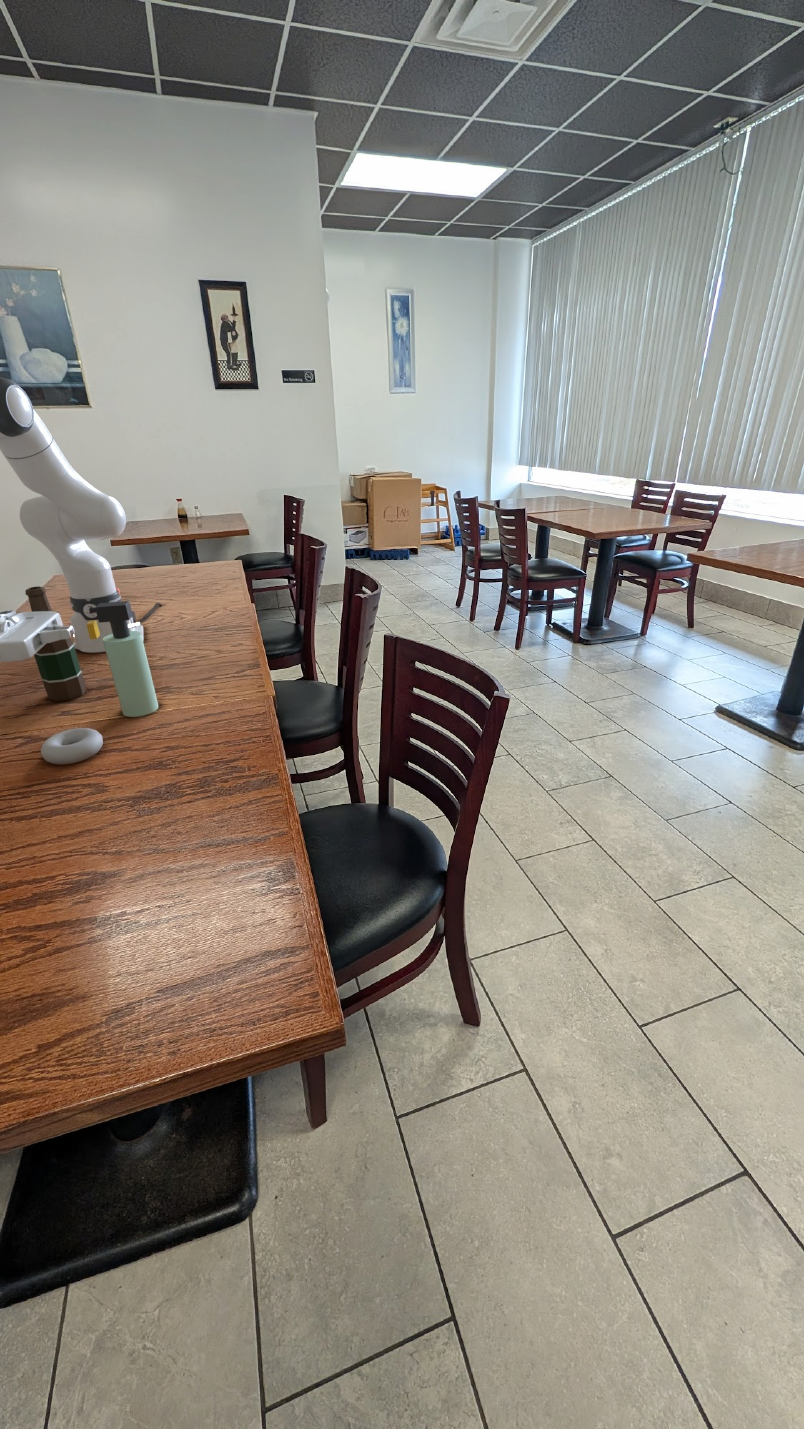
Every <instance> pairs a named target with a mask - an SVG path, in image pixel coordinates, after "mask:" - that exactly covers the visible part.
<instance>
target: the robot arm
mask: <svg viewBox="0 0 804 1429" xmlns="http://www.w3.org/2000/svg"><path fill="white" fill-rule="evenodd" d="M0 453H1V454H2V455H3V457H4V459H6V461H7V463H8V464H9V465H10V467H11V468H12V470H13V471H14V473H15V474H16V476H17V477H18V479H19V480H20V481H21V483H22V484H23V486H25V487H26V488H27V489H28V490H30V491H32V492H34V493H36V494H39V495H40V496H35V497H32V498H29V499H25V500H24V501H23V502H22V504H21V505H20V509H19V520H20V524H21V525H22V528H23V529H24V531H25V532H26V533H27V534H28V535H29V536H30V537H32V538H34V539H35V540H36V541H38V542H40V543H41V544H42V545H43V546H44V547H46V549H47V550H48V551H49V552H50V553H51V555H53V557H54V558H55V560H56V561H57V563H58V564H59V566H60V569H61V570H62V573H63V576H64V579H65V581H66V585H67V588H68V592H69V594H70V597H69V603H70V606H71V608H72V609H71V610H72V611H73V614H72V615H71V617H70V618H69V621H70V625H64V623H63V620H62V617H61V615H60V613H59V612H56V611H53V610H52V611H39V612H32V611H21V612H16V610H13V609H11V610H10V609H9V610H4V611H0V663H14V662H23V661H27V660H30V659H32V657H34V654H36V653H37V652H38V651H39V650H40V649H41V648H42V647H43V646H44V645H45V644H46V643H51V642H54V641H58V640H61V639H69V638H70V637H72V636H73V641H72V642H73V645H74V648H75V650H78V651H81V652H82V653H93V654H94V653H106V650H105V646H104V643H103V638H104V637H105V636H107V635H110V634H113V633H112V629H111V625H110V622H102V623H99V620H98V617H97V613H90V611H89V608H94V607H96V606H97V605H98V604H99V603H108V602H121V601H123V600H122V597H121V590H120V589H119V587H116V583H115V579H114V575H113V571H112V567H111V564H110V563H109V561H108V560H107V559H106V558H105V557H103V556H102V555H100V554H97V553H96V552H94V551H93V550H92V549H91V548H90V547H89V545H88V544H87V543H86V541H103V540H104V541H105V540H108V539H109V540H110V539H113V538H117V537H120V536H121V535H122V534H123V533H124V531H125V529H126V525H127V516H126V512H125V510H124V507H123V506H122V504H121V503H120V502H119V501H118V500H117V499H116V498H115V497H113V496H110V495H108V494H106V493H104V492H102V491H100V490H99V489H98V488H96V487H95V486H93V485H92V484H90V483H89V482H88V481H87V480H86V479H84V478H83V477H82V476H81V475H80V474H79V473H78V472H77V471H76V470H75V469H74V467H72V465H71V464H70V462H69V461H68V459H67V458H66V456H65V455H64V454H63V452H62V450H61V448H60V447H59V446H58V444H57V442H56V440H55V439H54V437H53V435H52V434H51V432H50V431H49V429H48V427H47V425H46V424H45V423H44V421H43V420H42V418H41V417H40V415H39V414H38V413H37V412H36V410H35V409H34V407H33V404H32V401H31V398H30V396H28V393H26V391H25V390H24V389H23V388H21V386H20V385H19V384H17V383H16V382H15V381H14V380H12V379H9V378H4V377H1V376H0ZM157 607H163V604H162V603H160V602H156V603H155V604H154V606H153V607H152V608H151V609H150V610H149V611H148V612H147V613H146V614H145V615H144V616H143V617H142V618H141V619H140V620H139V621H136V619H137V617H136V613H135V610H132V614H133V616H132V617H131V619H130V620H127V624H128V628H129V631H138V632H140V633H141V635H142V639H143V642H144V640H145V639H144V637H145V636H144V634H145V633H144V626H143V624H141V623H142V622H144V621H145V620H146V619H147V618H148V617H150V616H151V615H152V613H153V612H154V611H155V610H156V609H157ZM95 620H96V621H97V625H98V629H99V632H100V636H99V637H98V638H97V639H90V636H89V632H88V629H87V625H86V624H87V623H88V622H89V621H95Z"/></svg>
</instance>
